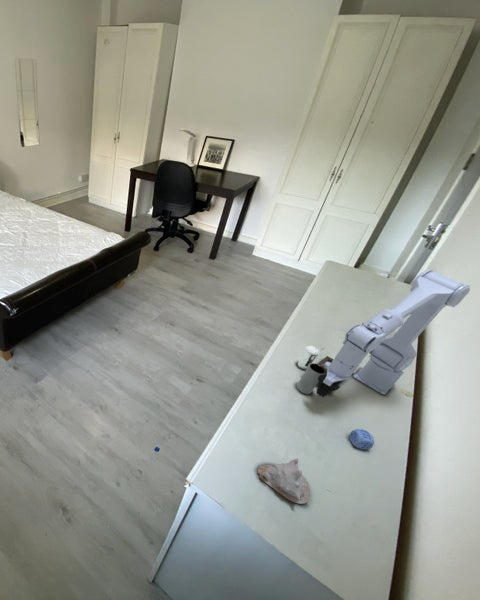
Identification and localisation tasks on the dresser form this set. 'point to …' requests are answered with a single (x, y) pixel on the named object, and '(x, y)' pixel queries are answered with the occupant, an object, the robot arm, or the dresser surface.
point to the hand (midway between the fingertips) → (325, 389)
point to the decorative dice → (361, 439)
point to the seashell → (286, 480)
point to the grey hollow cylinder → (310, 378)
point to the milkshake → (308, 356)
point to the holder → (321, 363)
